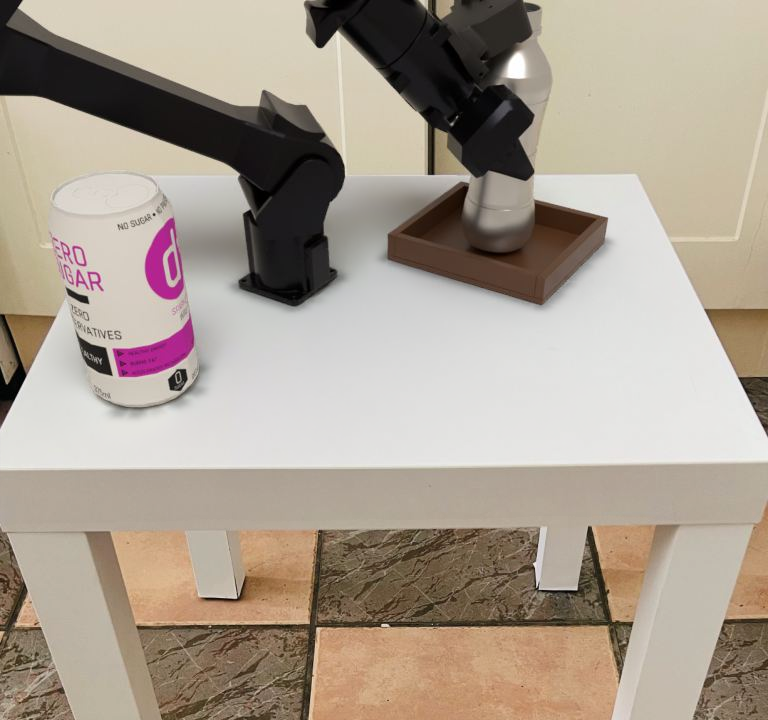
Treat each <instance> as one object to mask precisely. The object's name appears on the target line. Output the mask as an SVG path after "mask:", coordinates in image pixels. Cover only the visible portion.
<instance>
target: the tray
mask: <svg viewBox="0 0 768 720" xmlns="http://www.w3.org/2000/svg"><path fill="white" fill-rule="evenodd" d="M469 183H470V182H466V181H462V180H461V181H459V182H458V183H456V184H454V186H452V187H451V188H449V189H448V190H447V191H445V192H444V193H443V194H441V195H440V196H438V197H437V198H435V199H434V200H433V201H431V202H430V203H428V205H426V206H424V207H423V208H422V209H421V210H419V211H418V212H416V213H415V214H413V215H412V216H410V217H409V218H408V219H407V220H405V221H404V222H402V223H401V224H399V225H398V226H397V227H395V228H394V229H392V230H391V231H390V232H389V233H387V260H388V261H393V262H396V263H399V264H403V265H406V266H409V267H413V268H416V269H419V270H423V271H427V272H430V273H432V274H436V275H440V276H443V277H446V278H449V279H452V280H457V281H459V282H463V283H466V284H470V285H474V286H477V287H480V288H484V289H486V290H490V291H493V292H497V293H500V294H504V295H507V296H510V297H514V298H516V299H520V300H522V301H527V302H530V303H533V304H537V305H539V306H543V304H545V303H546V302H547V301H548V300H549V299H550V298H551V297H552V296H553V295H554V293H556V292H557V290H559V288H561V287H562V286H563V285H564V284H565V283H566V281H567V280H569V279H570V277H572V276H573V275H574V273H576V272H577V271H578V269H579V268H581V266H582V265H583V264H585V262H587V260H588V259H590V258H591V257H592V256H593V255H594V254H595V252H597V251H598V249H599V248H601V247H602V245H604V243H605V241H606V234H607V228H608V222H609V217H607V216H603V215H599V214H595V213H591V212H587V211H583V210H579V209H575V208H572V207H567V206H563V205H559V204H555V203H550V202H547V201H543V200H539V199H535V198H534V204H535V223H534V227H533V230H532V233H531V236H530V238H529V240H528V241H527V242H526V243H525V244H524V245H523V246H522V247H521V248H519V249H517V250H514V251H510V252H490V251H485V250H481V249H479V248H476V247H474V246H472V245H471V244H470V243H469V242H468V240H467V239H466V237H465V235H464V233H463V228H462V212H463V207H464V202H465V198H466V195H467V192H468V189H469Z"/></svg>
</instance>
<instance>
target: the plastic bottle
mask: <svg viewBox="0 0 768 720" xmlns="http://www.w3.org/2000/svg"><path fill="white" fill-rule="evenodd" d="M524 4H525V8H526V11H527V14H528V18H529V21H530V24H531V27H532V31H533V33H532V35H531V37H530V38H528V39H527V40H526V41H524V42H522V43H516V44H514V45H513V46H511V47H509V48H507V49H506V50H504V51H502V52H501V53H499V54H497V55H496V56H494V57H492V58H490V59H488V60H485V61H482V62H483V63H484V64H485V66H486V67H487V68H488V69H489V71H488V72H487V73H486V75H485V76H484V77H483V78H482V79H481V80H480V81H479V82H475V83H474V84H475V85H477V86H478V87H479V88H480V89H481V90H482V91H484V90H485V89H486V87H487V86H491V85H502V84H504V85H505V86H506V87H508V88H509V89H510V90H511V91H512V92H513V93H515V94H516V95H517V96H518V97H519V98H520V99H521V100H522V101H523V102H524V103H525V104H526V105H527V107H528V108H529V109H530V110H531V111H532V112H533V113H534V115H535V116H534V120H533V123H532V124H531V126H530V127H529V128H528V129H527V130H526V131H525V132H524V133H523V134H522V135H521V136H520V137H519V140H520V142H521V144H522V146H523V148H524V150H525V152H526V154H527V156H528V158H529V160H530V162H531V164H532V166H533V168H534V170H535V169H536V168H535V167H536V159H537V152H538V146H539V141H540V135H541V131H542V126H543V123H544V118H545V114H546V110H547V107H548V103H549V99H550V94H551V92H552V86H553V82H554V81H553V73H552V68H551V65H550V62H549V61H548V59H547V56H546V54H545V52H544V50H543V49H542V47H541V46H540V44H539V42H538V37H540V36H541V35H542V31H543V26H542V19H543V7H542V6H541V5H539V4H536V3H533V2H528V1H524ZM535 171H536V170H535ZM468 183H469V189H468V192H467V195H466V198H465V202H464V207H463V212H462V228H463V233H464V235H465V237H466V239H467V240H468V242H469V243H470V244H471V245H472V246H474V247H476V248H479V249H481V250H485V251H490V252H510V251H514V250H517V249H519V248H521V247H522V246H523V245H524V244H525V243H526V242H527V241H528V240H529V238H530V236H531V233H532V230H533V227H534V223H535V204H534V199H535V197H534V193H535V192H534V190H535V173H534V174H533V175H532V176H531V177H530V178H529V180H527V181H523V180H519V179H516V178H513V177H509V176H506V175H502V174H499V173H495V172H492V171H488V172H487V173H486V174H485V175H484V176H482V177H479V178H475V177H474V176H473V175H472V174H471V173H470V177H469V182H468Z"/></svg>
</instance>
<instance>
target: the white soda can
mask: <svg viewBox="0 0 768 720" xmlns="http://www.w3.org/2000/svg"><path fill="white" fill-rule="evenodd" d="M49 200H50V203H51V204H50V208H49V211H48V215H47V218H46V227H47V230H48V234H49V238H50V242H51V246H52V248H53V253H54V256H55V260H56V264H57V267H58V272H59V276H60V279H61V283H62V287H63V290H64V294H65V297H66V301H67V305H68V309H69V311H70V316H71V320H72V323H73V327H74V331H75V334H76V339H77V342H78V346H79V349H80V352H81V357H82V360H83V364H84V365H83V366H84V368H85V371H86V376H87V379H88V383H89V385H90V387H91V389H92V390H93V391H92V392H94V393H95V394H96V395H98V396H99V397H100V398H102V399H104V400H105V401H108V402H111V404H113V405H116V406H117V405H118V406H121V407H126V408H147V407H155V406H158V405H162V404H164V403H165V404H166V403H167V402H169V401H173V400H174V399H177V398H178V397H179V396H180V395H182V394H183V393H184V392H186V391H187V390H188V389H189V387H190V386H191V385H192V384H194V381H195V380H196V379H197V376H198V375H199V371H200V370H199V366H200V362H199V357H198V350H197V344H196V339H195V338H196V337H195V333H194V327H193V321H192V316H191V309H190V303H189V297H188V291H187V285H186V279H185V274H184V267H183V262H182V256H181V250H180V244H179V243H180V242H179V239H178V233H177V227H176V220H175V215H174V209H173V204H172V203H171V202H170V200H169V199H168V197H167V196H166V195H165V193H163V191H162V190H161V188H160V183H159V182H158V181H157V180H156V179H155V178H154V177H152V176H151V175H148V174H146V173H143V172H140V171H134V170H129V169H122V170H121V169H106V170H100V171H91V172H88V173H85V174H80V175H77V176H74V177H71V178H70V179H67V180H65V181H63V182H61V183H60V184H59V185H57V187H56V188H55V189H53V190H52V192H51V195H50V197H49Z"/></svg>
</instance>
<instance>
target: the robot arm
mask: <svg viewBox="0 0 768 720" xmlns="http://www.w3.org/2000/svg"><path fill="white" fill-rule="evenodd" d="M23 1H24V0H0V97H36V98H41V99H42V98H43V99H46V100H49V101H51V102H54V103H57V104H60V105H62V106H65V107H68V108H71V109H74V110H76V111H79V112H81V113H83V114H88V115H91V116H93V117H94V118H95V117H96V118H98V119H101V120H104V121H107V122H110V123H113V124H115V125H118V126H120V127H123V128H126V129H128V130H132V131H134V132H138V133H140V134H143V135H144V136H148V137H151V138H153V139H156V140H159V141H161V142H165V143H168V144H170V145H173V146H176V147H179V148H181V149H184V150H187V151H189V152H192V153H195V154H198V155H201V156H204V157H206V158H209V159H211V160H214V161H217V162H220V163H223V164H224V165H226V166H228V167H230V168H231V169H232V170H234V171H235V172H237V173H238V174H239V175H238V177H237V182H238V184H239V186H240V188H241V191H242V193H243V195H244V197H245V200H246V202H247V205H248V206H249V209H248V210H246V211H244V212H243V213H242V221H243V228H244V237H245V246H246V254H247V263H248V269H249V270H248V273H247V274H245V275H244V276H243V277H241V278H239V279H238V281H237V283H238V287H239V288H242V289H245V290H247V291H251V292H253V293H256V294H259V295H262V296H265V297H268V298H271V299H274V300H277V301H280V302H283V303H286V304H289V305H292V306H296V305H297V306H298V305H300V304H301V303H302V302H304V301H305V300H306V299H308V298H309V297H310V296H312V295H313V294H314V293H316V292H317V291H319V290H320V289H321V288H323V287H324V286H326V285H327V284H329V282H331V281H332V280H334V279H335V278H337V276H338V270H337V269H336V268H334V267H330V250H329V249H330V248H329V238H328V236H327V235H326V234H325V224H324V223H325V221H326V216H327V214H328V210H329V207H330V203H332V201H334V200H335V199H336V198H338V196H339V194H340V193H341V191H342V189H343V187H344V183H345V179H346V166H345V163H344V160H343V157H342V155H341V154H340V151H339V150H338V149H337V147H336V146H335V144H334V143H333V142H332V140H331V139H330V137H329V136H328V134H327V133H326V131H325V129H324V128H323V127H322V125H321V124H320V123H319V121H317V119H316V117H315V116H314V114H313V113H312V112H311V110H310V108H309V106H308V105H307V104H295V103H291V102H287V101H285V100H283V99H281V98H280V97H278V96H276V94H274V93H272V92H270V91H268V90H267V89H262V90H261V94H260V99H259V105H237V104H232V103H229V102H226V101H224V100H222V99H219V98H216V97H214V96H211V95H209V94H206V93H204V92H202V91H199V90H197V89H194V88H191V87H189V86H187V85H184V84H181V83H179V82H176V81H174V80H171V79H169V78H166V77H163V76H161V75H158V74H156V73H154V72H151V71H149V70H146V69H143V68H141V67H139V66H136V65H134V64H131V63H129V62H126V61H123V60H121V59H118V58H116V57H113V56H110V55H108V54H106V53H103V52H102V51H101V52H100V51H98V50H95V49H93V48H91V47H87V46H85V45H83V44H81V43H78V42H76V41H73V40H71V39H68V38H66V37H62V36H60V35H58V34H55V33H54V32H52V31H51V30H49V29H47V28H46V27H44V26H43V25H42V24H40V23H39V22H38V21H36V20H35V19H33V18H32V17H31V16H29V14H27V13H26V12H24V11H23V10H21V9H20V6H21V4H22V3H23ZM524 2H525V1H524V0H453V4H452V5H451V6H450V7H449V9H450V12H449V13H448V14H446V15H445V16H443V17H442V18H440V17H439V16H438V15H437V14H436V13H435V12H434V11H433V10H432V9H431V8H429V9H427V7H426V6H425V5H424V4H423V3H422V2H421V0H305V1H304V2H303V7H304V11H305V15H306V19H305V34H306V36H307V37H308V38H309V40H310V41H311V42H312V43H313V44H314V46H315V47H316V49H317V48H318V49H320V50H321V49H323V48H325V46H326V45H327V44H328V43H329V42H330V41H331V39H332V38H333V37H334V36H335V34H336V33H337V32H338V33H339V34H340V35H341V36H342V37H343V38H344V39H345V40H346V41H347V42H348V43H349V44H350V45H351V46H352V47H353V48H354V49H355V50H356V51H357V52H358V54H360V55H361V57H363V58H364V60H366V61H367V63H369V64H370V65H371V66H372V68H373V69H375V70H376V71H377V72H378V74H380V75H381V76H382V78H383V79H384V80H385V81H386V82H387V83H388V84H389V85H390V86H391V88H393V90H394V91H395V92H396V93H397V94H398V95H399V96H400V98H402V99H403V101H404V102H405V103H406V104H407V105H408V106H409V107H410V108H411V109H412V110H413V111H414V112H416V113H418V114H419V115H420V116H421V117H422V119H423V120H425V122H426V123H427V124H428V125H429V126H430V127H431V128H432V129H437V130H439V131H441V132H443V133H446V134H447V138H446V148H447V150H448V151H449V152H450V153H451V154H452V155H453V156H454V158H455V159H456V160H457V161H458V162H459V163H460V164H461V165H462V166H463V167H464V168H465V169H466V170H467V171H468V172H469V174H470V175H471V174H472V175H473V176H474V177H475V178H479V177H482V176H484V175H485V174H486V173H487V172H488V171H492V172H495V173H499V174H502V175H506V176H509V177H513V178H516V179H519V180H523V181H527V180H529V178H530V177H531V176H532V175H533V174H534V175H535V171H536V170H534V168H533V166H532V164H531V162H530V160H529V158H528V156H527V154H526V152H525V150H524V148H523V146H522V144H521V142H520V140H519V137H520V136H521V135H522V134H523V133H524V132H525V131H526V130H527V129H528V128H529V127H530V126H531V124H532V123H533V120H534V116H535V115H534V113H533V112H532V111H531V110H530V109H529V108H528V107H527V105H526V104H525V103H524V102H523V101H522V100H521V99H520V98H519V97H518V96H517V95H516V94H515V93H513V92H512V91H511V90H510V89H509V88H508V87H506V86H505V85H504V84H502V85H491V86H487V87H486V89H485V90H484V91H482V90H481V89H480V88H479V87H478V86H477V85H475V84H474V83H475V82H479V81H480V80H481V79H482V78H483V77H484V76H485V75H486V73H487V72H488V71H489V69H488V68H487V67H486V66H485V64H484V63H483V62H482V61H485V60H488V59H490V58H492V57H494V56H496V55H497V54H499V53H501V52H502V51H504V50H506V49H507V48H509V47H511V46H513V45H514V44H516V43H522V42H524V41H526V40H527V39H528V38H530V37H531V35H532V33H533V31H532V27H531V24H530V21H529V18H528V14H527V11H526V8H525V4H524Z"/></svg>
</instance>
